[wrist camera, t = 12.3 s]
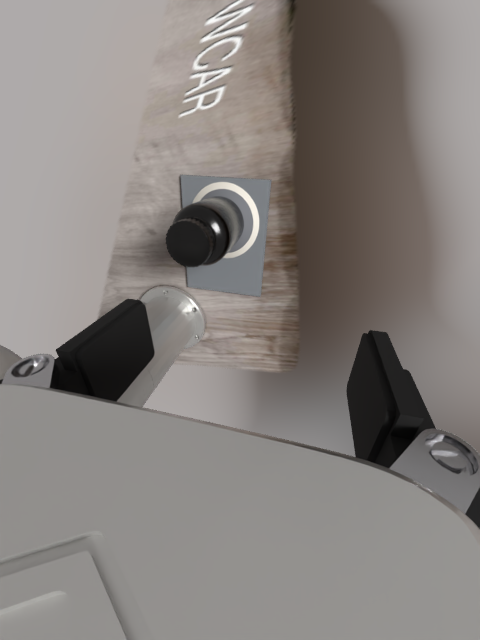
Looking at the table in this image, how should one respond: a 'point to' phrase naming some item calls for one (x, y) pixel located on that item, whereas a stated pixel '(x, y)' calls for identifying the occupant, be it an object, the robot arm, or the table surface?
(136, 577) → the robot arm
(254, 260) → the mat
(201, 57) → the table surface
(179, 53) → the table surface
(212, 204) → the supplement bottle
